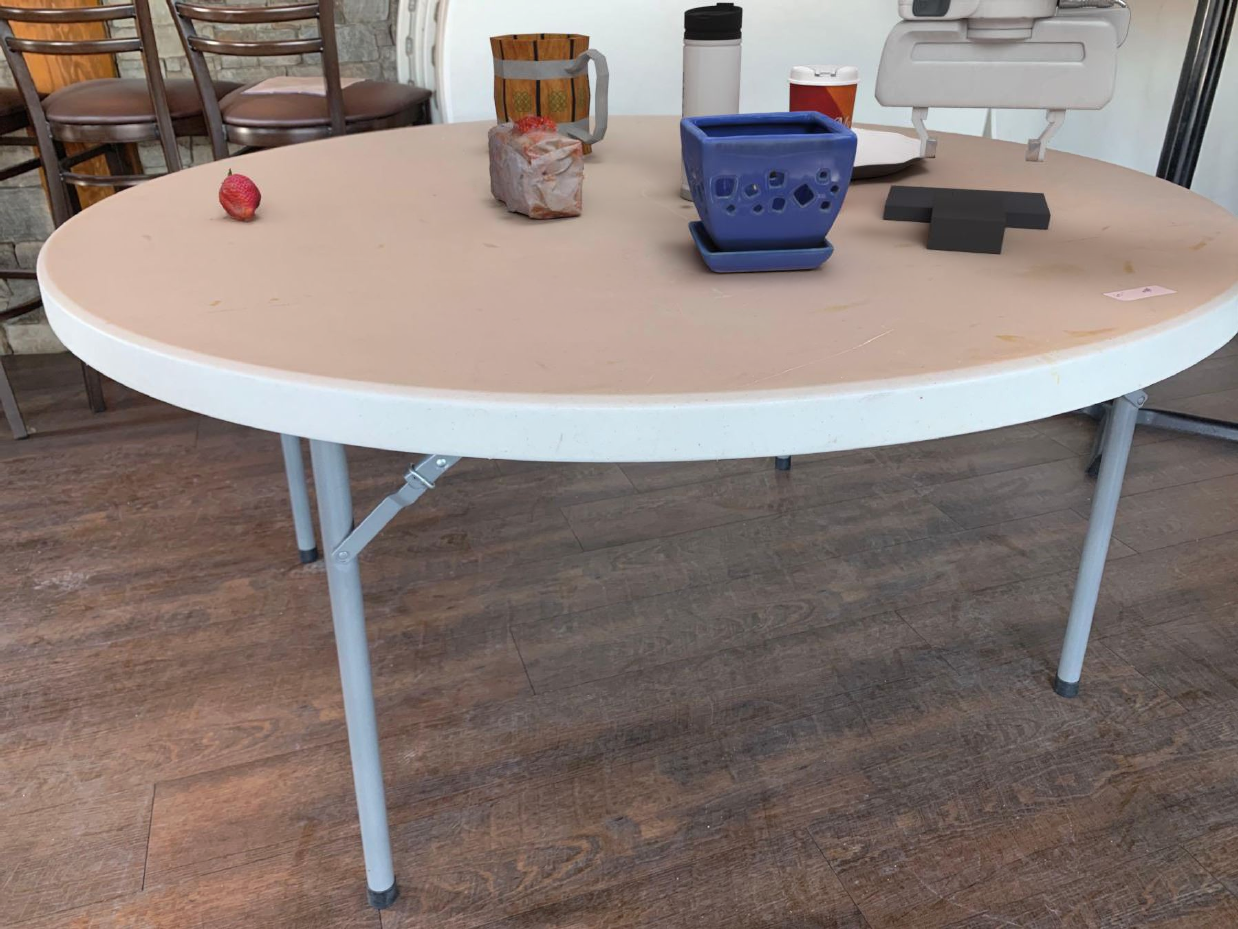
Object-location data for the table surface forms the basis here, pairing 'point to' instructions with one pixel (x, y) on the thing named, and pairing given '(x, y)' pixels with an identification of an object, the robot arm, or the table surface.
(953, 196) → the black block
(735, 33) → the travel mug
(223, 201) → the fruit
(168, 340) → the table surface
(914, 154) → the plate
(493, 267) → the table surface
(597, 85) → the mug
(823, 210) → the flower pot
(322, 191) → the table surface
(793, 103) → the paper cup
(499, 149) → the wrapped gift box
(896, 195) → the charcoal pad
